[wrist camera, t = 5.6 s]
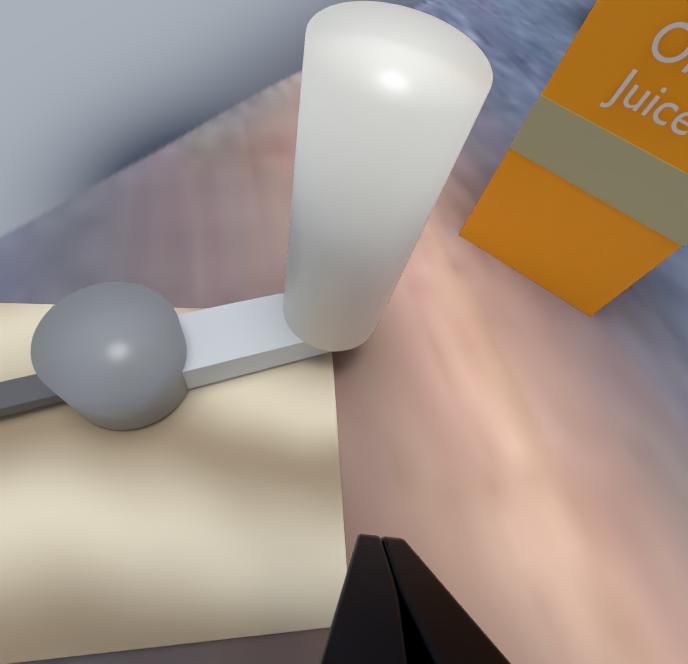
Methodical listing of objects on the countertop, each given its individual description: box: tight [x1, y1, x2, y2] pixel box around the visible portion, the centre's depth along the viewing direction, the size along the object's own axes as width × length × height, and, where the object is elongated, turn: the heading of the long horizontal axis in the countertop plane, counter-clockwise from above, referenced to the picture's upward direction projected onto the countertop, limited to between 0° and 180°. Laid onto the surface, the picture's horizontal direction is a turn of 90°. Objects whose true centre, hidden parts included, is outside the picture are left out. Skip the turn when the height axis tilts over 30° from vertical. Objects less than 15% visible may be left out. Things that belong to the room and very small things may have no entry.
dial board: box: [0, 303, 347, 664], centre depth 15 cm, size 12×19×1 cm, turn 94°
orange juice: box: [459, 0, 688, 316], centre depth 17 cm, size 8×9×20 cm
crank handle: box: [0, 1, 493, 430], centre depth 11 cm, size 19×4×12 cm, turn 111°
